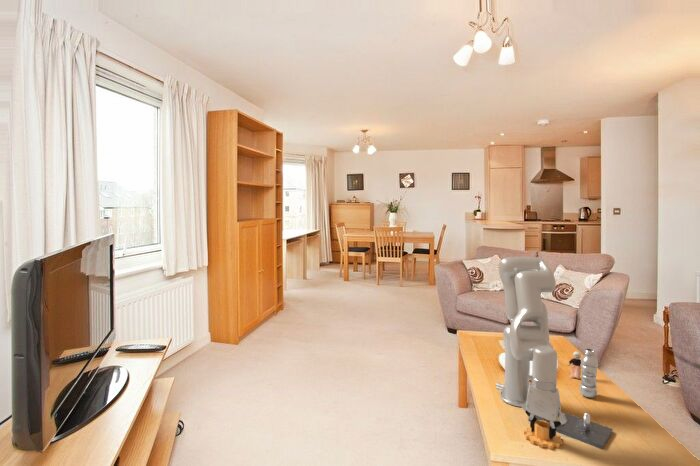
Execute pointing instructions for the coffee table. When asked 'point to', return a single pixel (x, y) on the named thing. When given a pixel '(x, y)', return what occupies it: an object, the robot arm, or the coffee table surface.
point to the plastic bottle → (589, 374)
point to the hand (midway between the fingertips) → (542, 433)
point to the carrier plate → (583, 430)
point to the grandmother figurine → (575, 365)
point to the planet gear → (542, 435)
